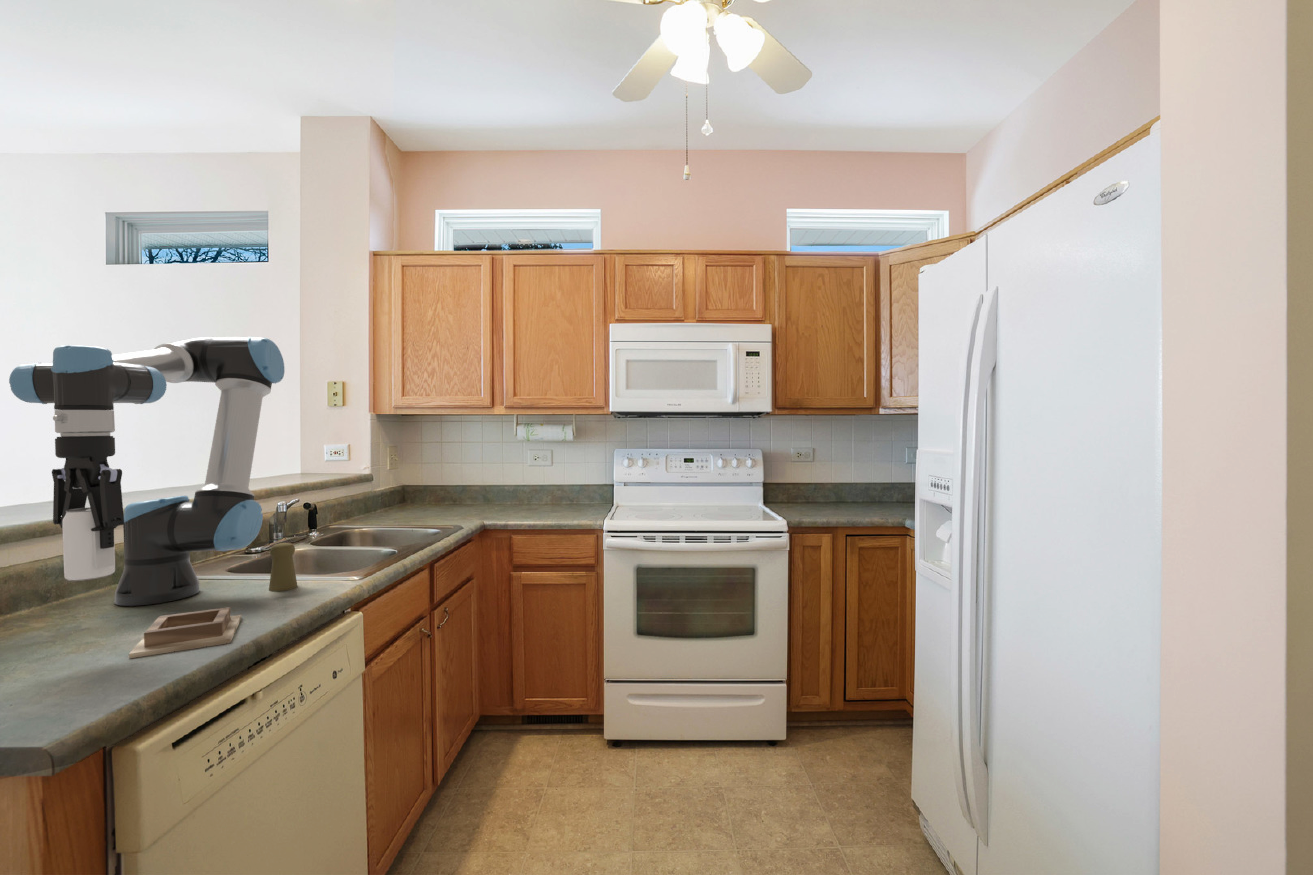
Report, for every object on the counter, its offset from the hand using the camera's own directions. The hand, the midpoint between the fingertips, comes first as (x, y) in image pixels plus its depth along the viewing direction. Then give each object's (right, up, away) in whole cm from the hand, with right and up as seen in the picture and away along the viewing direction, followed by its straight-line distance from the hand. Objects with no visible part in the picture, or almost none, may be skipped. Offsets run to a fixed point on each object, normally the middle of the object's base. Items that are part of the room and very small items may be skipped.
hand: (89, 565), depth 103 cm
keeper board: (+12, -15, +7) cm, 20 cm away
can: (0, -2, 0) cm, 2 cm away
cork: (+8, -15, +41) cm, 44 cm away
